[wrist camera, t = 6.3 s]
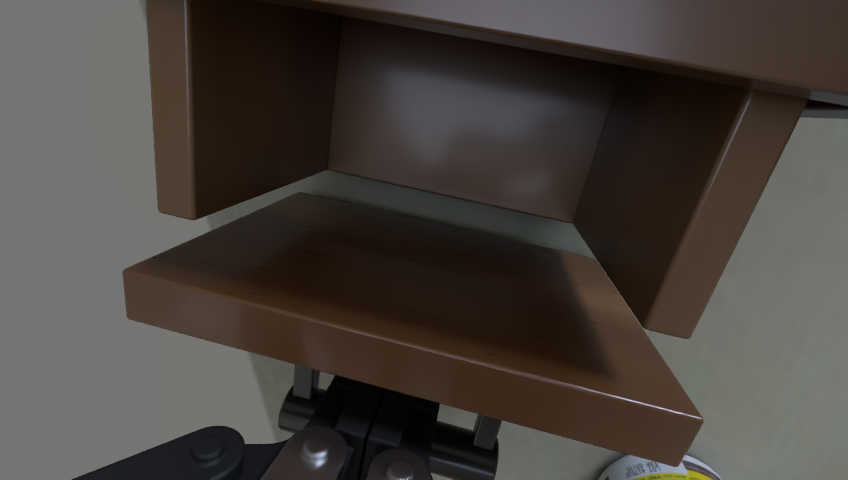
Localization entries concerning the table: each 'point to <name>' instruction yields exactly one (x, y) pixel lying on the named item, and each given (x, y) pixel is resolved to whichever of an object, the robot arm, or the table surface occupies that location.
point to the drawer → (441, 244)
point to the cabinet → (654, 36)
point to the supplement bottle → (657, 470)
